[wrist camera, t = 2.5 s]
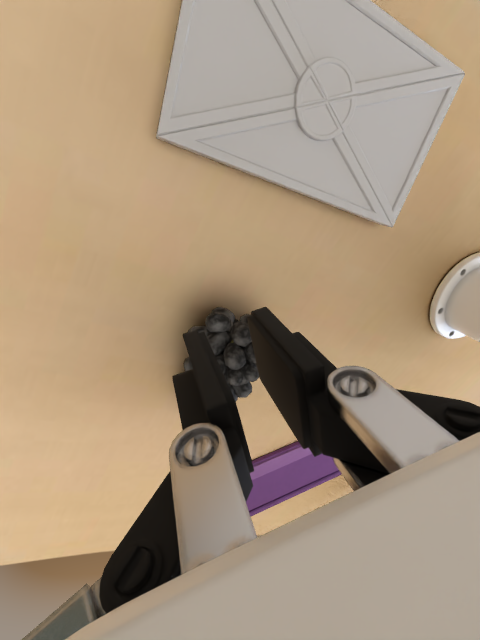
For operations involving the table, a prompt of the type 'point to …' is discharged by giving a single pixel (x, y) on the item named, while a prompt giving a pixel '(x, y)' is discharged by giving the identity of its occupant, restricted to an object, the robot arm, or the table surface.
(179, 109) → the envelope
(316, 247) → the table surface
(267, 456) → the towel
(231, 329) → the fruit
